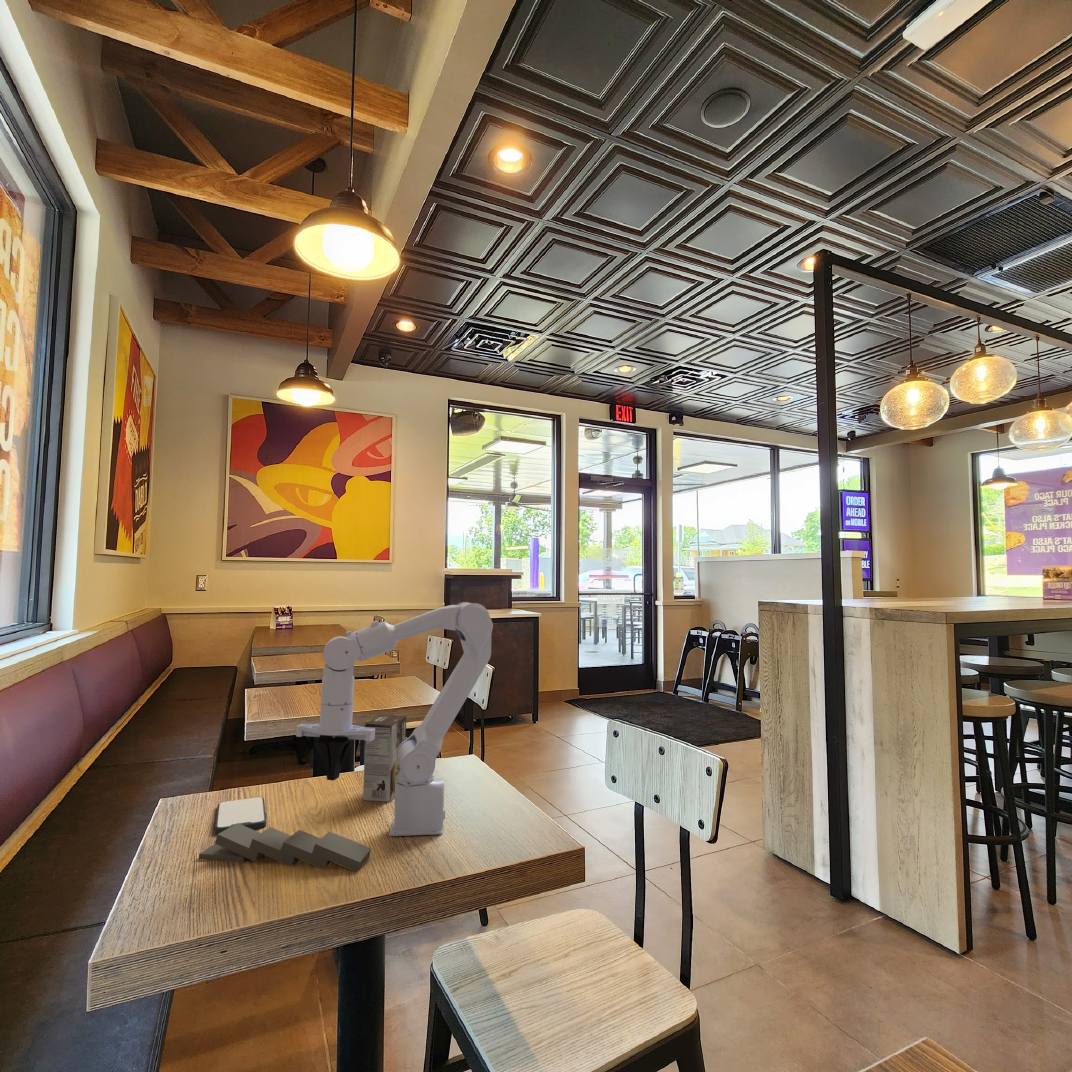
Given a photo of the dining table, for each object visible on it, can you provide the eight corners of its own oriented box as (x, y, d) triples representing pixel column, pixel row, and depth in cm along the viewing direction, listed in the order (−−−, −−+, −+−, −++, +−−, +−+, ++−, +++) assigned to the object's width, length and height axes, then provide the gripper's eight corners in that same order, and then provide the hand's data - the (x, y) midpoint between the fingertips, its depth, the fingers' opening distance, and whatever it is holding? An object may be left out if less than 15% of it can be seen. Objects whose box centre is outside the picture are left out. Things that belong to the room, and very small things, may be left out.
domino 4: (371, 848, 101) (329, 831, 102) (359, 862, 96) (315, 843, 97) (368, 857, 101) (326, 840, 102) (356, 871, 96) (311, 853, 97)
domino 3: (341, 846, 101) (299, 829, 102) (327, 859, 96) (283, 842, 97) (338, 855, 101) (296, 838, 102) (324, 869, 96) (280, 851, 97)
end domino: (261, 844, 103) (219, 841, 104) (243, 857, 98) (199, 853, 99) (260, 853, 103) (218, 850, 104) (242, 867, 98) (198, 863, 99)
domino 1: (276, 839, 103) (237, 822, 105) (258, 852, 98) (217, 834, 100) (273, 849, 103) (234, 831, 105) (255, 861, 98) (214, 843, 100)
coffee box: (378, 786, 136) (380, 713, 137) (405, 787, 135) (407, 715, 136) (361, 800, 127) (363, 723, 128) (390, 802, 126) (392, 724, 127)
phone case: (216, 810, 123) (213, 838, 108) (217, 802, 123) (214, 829, 108) (264, 803, 126) (266, 830, 112) (264, 795, 127) (267, 821, 112)
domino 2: (310, 843, 102) (270, 826, 103) (294, 856, 97) (252, 838, 99) (307, 852, 102) (267, 835, 103) (291, 866, 97) (249, 848, 99)
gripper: (383, 700, 113) (379, 774, 112) (311, 696, 115) (307, 769, 114) (367, 708, 106) (363, 787, 105) (291, 703, 108) (286, 780, 107)
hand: (333, 778), depth 109 cm, fingers closed
